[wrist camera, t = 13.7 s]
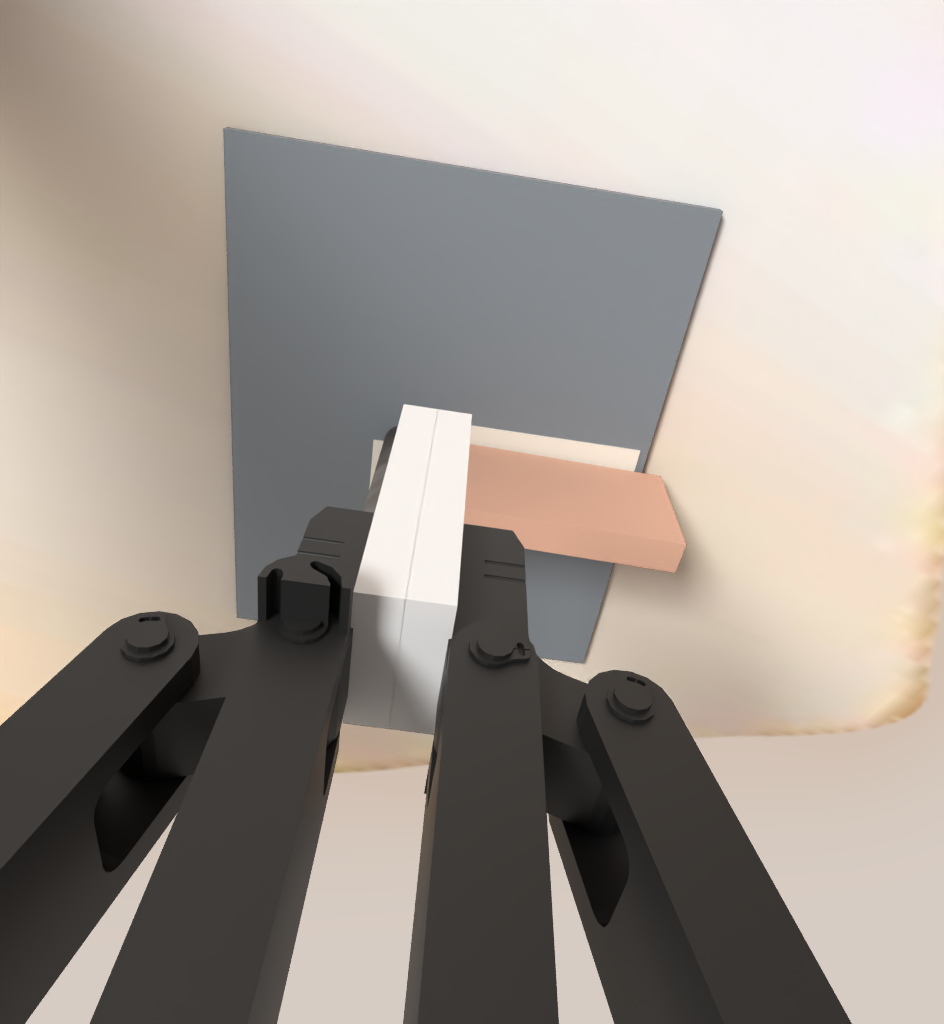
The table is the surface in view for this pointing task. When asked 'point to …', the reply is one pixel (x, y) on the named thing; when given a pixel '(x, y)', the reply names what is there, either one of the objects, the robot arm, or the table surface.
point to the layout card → (441, 335)
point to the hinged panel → (574, 508)
